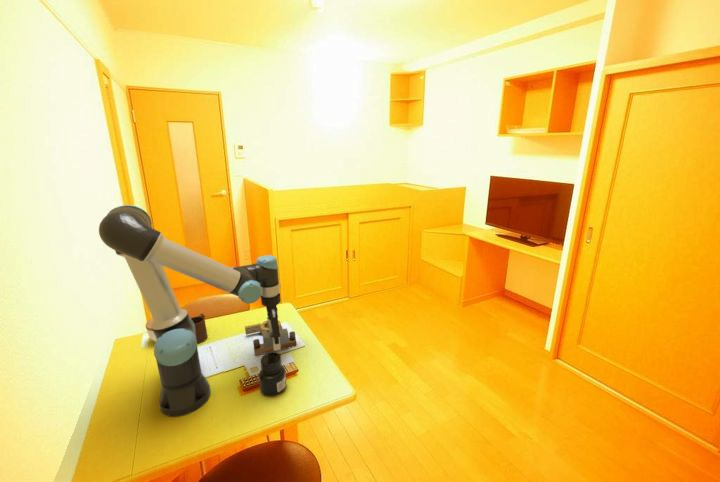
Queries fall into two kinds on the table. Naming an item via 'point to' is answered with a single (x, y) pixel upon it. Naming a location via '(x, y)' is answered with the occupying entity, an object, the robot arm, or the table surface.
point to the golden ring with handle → (259, 328)
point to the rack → (261, 350)
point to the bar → (269, 341)
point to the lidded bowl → (150, 330)
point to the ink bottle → (272, 375)
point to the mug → (200, 328)
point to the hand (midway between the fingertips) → (275, 341)
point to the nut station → (267, 327)
